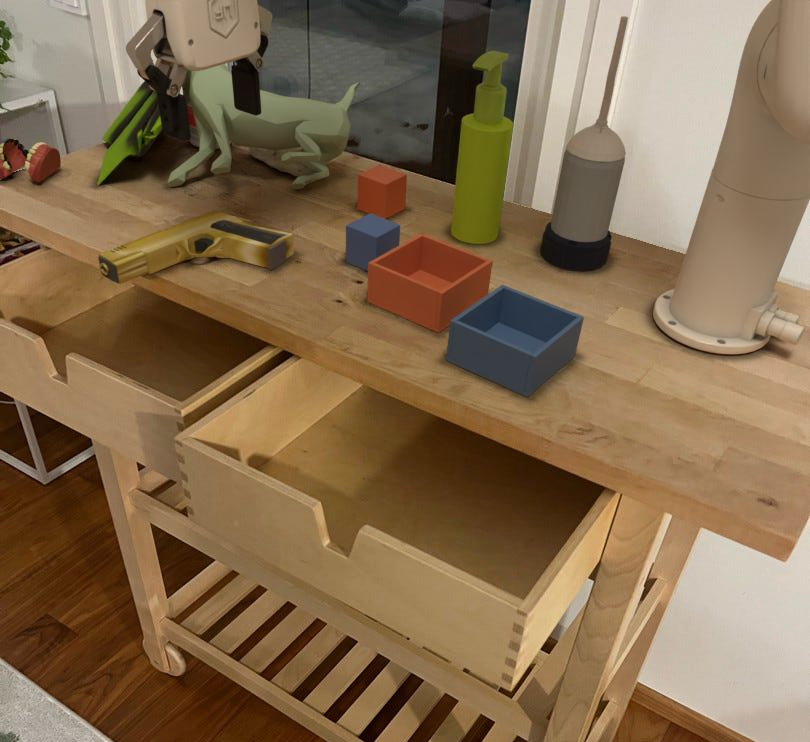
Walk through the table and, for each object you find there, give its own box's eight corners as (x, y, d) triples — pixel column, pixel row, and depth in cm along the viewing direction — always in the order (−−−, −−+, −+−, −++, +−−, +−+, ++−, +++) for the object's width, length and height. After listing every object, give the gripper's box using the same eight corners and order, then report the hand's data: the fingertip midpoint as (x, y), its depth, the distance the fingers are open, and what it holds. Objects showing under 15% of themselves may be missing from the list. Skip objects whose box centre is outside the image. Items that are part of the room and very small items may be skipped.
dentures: (36, 147, 102) (-21, 144, 103) (47, 183, 104) (-9, 179, 106) (61, 134, 106) (5, 132, 107) (70, 169, 109) (16, 166, 110)
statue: (372, 204, 116) (348, 70, 117) (377, 151, 103) (350, 2, 105) (179, 227, 113) (158, 90, 115) (159, 176, 100) (136, 22, 102)
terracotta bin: (487, 298, 91) (493, 260, 88) (438, 333, 86) (442, 293, 83) (418, 270, 95) (421, 232, 92) (367, 301, 90) (367, 262, 86)
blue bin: (575, 356, 84) (584, 316, 81) (527, 397, 79) (535, 357, 75) (496, 323, 88) (502, 284, 85) (445, 360, 82) (450, 320, 79)
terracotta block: (405, 208, 107) (407, 174, 104) (384, 219, 104) (385, 184, 101) (378, 198, 108) (379, 164, 105) (357, 209, 106) (357, 174, 103)
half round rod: (156, 106, 126) (163, 117, 128) (121, 150, 112) (130, 162, 113) (179, 93, 125) (186, 105, 126) (146, 136, 111) (155, 148, 112)
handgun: (299, 236, 94) (228, 203, 99) (165, 294, 83) (92, 253, 88) (300, 257, 96) (230, 223, 101) (168, 316, 85) (97, 275, 90)
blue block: (398, 261, 96) (400, 224, 93) (375, 274, 94) (376, 237, 91) (369, 249, 98) (370, 212, 95) (345, 262, 96) (345, 225, 92)
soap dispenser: (439, 239, 101) (455, 56, 87) (462, 218, 105) (482, 41, 91) (482, 251, 99) (506, 67, 85) (505, 230, 104) (531, 52, 90)
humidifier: (607, 244, 103) (663, 12, 85) (606, 275, 97) (666, 33, 79) (542, 235, 103) (584, 3, 86) (537, 265, 98) (581, 23, 80)
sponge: (243, 151, 115) (254, 122, 114) (266, 163, 119) (277, 134, 118) (301, 183, 110) (313, 152, 109) (323, 194, 114) (335, 164, 113)
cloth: (165, 45, 115) (179, 59, 117) (75, 175, 116) (90, 187, 118) (214, 40, 100) (229, 56, 101) (110, 190, 101) (127, 203, 102)
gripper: (142, -72, 63) (175, 159, 75) (292, -95, 73) (300, 112, 85) (77, -87, 66) (119, 138, 78) (230, -107, 76) (246, 94, 88)
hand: (213, 124), depth 82 cm, fingers open, 9 cm apart
